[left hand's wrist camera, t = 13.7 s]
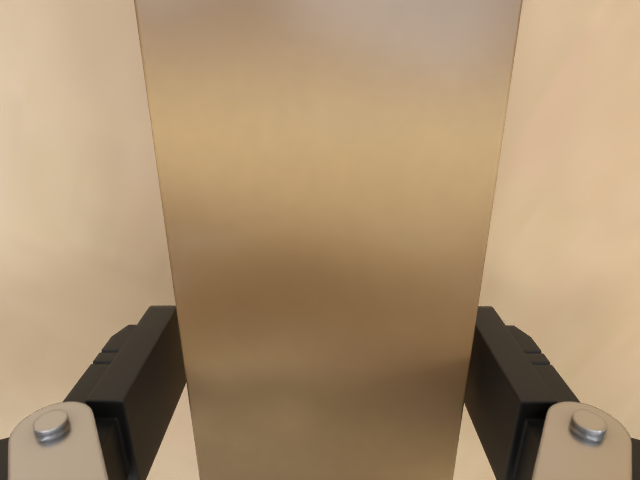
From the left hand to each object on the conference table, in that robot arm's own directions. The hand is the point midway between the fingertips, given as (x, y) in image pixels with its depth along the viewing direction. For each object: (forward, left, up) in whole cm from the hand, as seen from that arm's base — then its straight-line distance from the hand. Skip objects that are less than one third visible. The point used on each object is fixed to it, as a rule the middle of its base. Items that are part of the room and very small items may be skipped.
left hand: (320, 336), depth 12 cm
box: (0, -7, -7) cm, 10 cm away
